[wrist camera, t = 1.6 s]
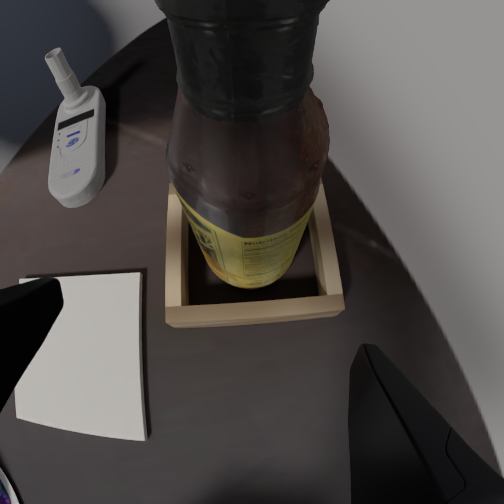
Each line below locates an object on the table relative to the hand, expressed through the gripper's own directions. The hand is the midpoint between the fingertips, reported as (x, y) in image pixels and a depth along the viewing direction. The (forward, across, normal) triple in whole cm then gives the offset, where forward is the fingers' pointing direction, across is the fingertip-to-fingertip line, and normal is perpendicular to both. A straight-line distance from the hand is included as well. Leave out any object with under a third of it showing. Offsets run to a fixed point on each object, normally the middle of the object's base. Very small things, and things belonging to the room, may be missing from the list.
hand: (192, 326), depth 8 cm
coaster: (+7, +12, +12) cm, 18 cm away
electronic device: (+20, +19, -1) cm, 28 cm away
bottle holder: (+14, 0, +4) cm, 15 cm away
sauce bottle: (+14, 0, +4) cm, 15 cm away
